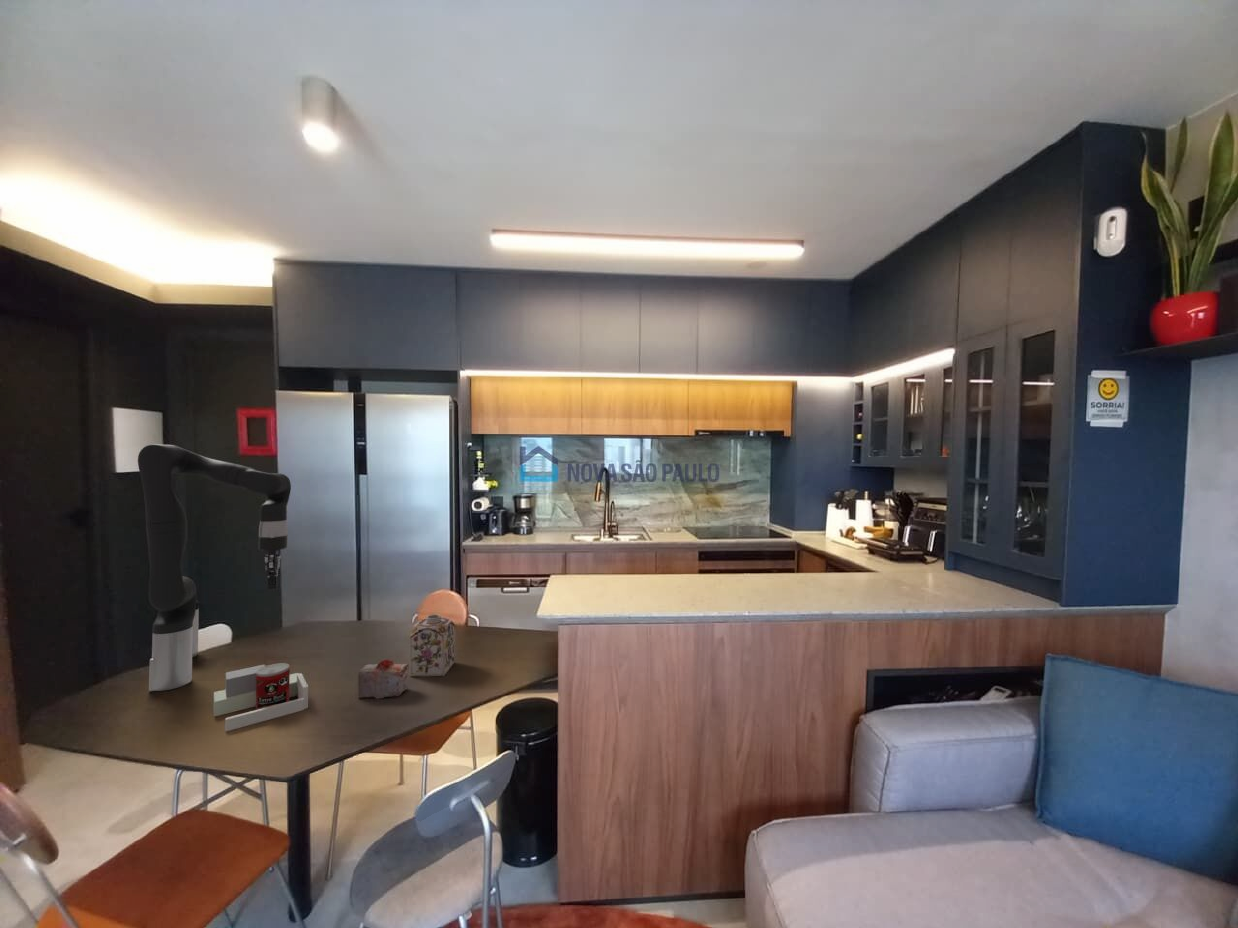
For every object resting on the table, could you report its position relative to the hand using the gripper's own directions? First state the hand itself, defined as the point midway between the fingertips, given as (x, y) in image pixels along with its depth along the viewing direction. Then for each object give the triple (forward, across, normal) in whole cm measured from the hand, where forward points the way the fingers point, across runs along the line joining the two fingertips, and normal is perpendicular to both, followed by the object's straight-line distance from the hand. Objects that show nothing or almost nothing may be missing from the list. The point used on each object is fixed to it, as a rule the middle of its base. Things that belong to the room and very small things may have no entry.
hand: (272, 587), depth 154 cm
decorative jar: (+29, +20, +46) cm, 58 cm away
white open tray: (+29, +22, -1) cm, 37 cm away
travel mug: (+29, -38, -28) cm, 56 cm away
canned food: (+29, +24, +2) cm, 38 cm away
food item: (+29, +31, +30) cm, 52 cm away
